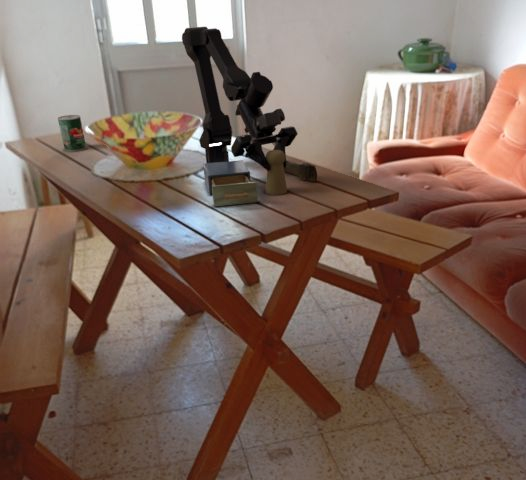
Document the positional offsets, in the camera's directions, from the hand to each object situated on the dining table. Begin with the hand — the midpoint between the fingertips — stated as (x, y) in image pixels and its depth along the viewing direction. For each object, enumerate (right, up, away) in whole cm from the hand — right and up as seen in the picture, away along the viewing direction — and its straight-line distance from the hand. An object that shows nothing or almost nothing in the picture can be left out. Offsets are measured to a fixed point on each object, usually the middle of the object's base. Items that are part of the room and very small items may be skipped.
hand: (277, 168), depth 151 cm
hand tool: (+6, +3, +16) cm, 18 cm away
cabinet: (-14, -2, +9) cm, 17 cm away
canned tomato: (-73, +25, +56) cm, 95 cm away
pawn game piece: (0, -5, +4) cm, 7 cm away
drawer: (-12, -8, 0) cm, 15 cm away
